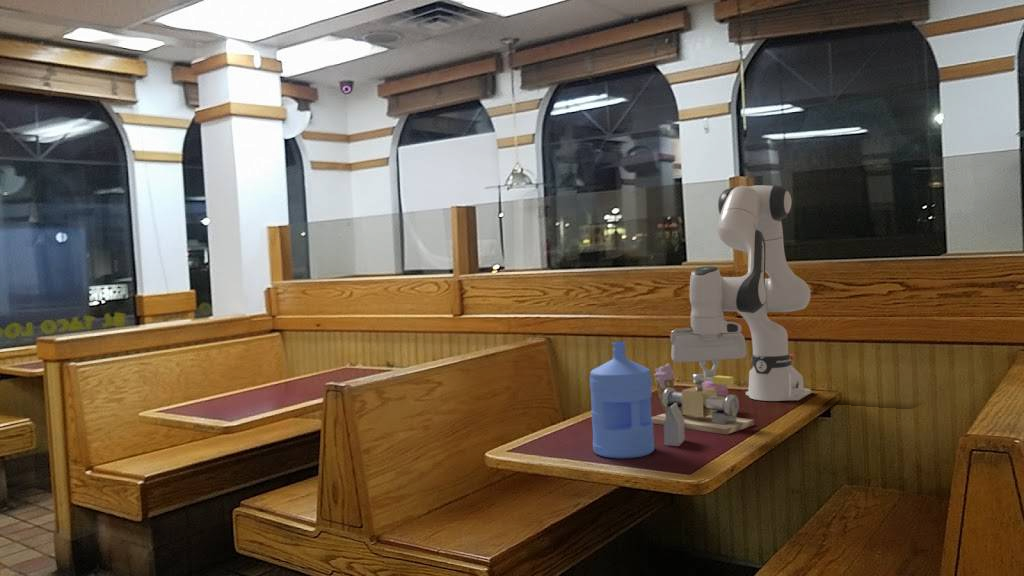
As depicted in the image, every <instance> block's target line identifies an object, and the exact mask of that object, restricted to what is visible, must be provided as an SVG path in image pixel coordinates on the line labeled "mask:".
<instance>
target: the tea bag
mask: <svg viewBox="0 0 1024 576" xmlns="http://www.w3.org/2000/svg"><path fill="white" fill-rule="evenodd" d="M663 434H664V435H663V438H664V446H666V447H667V446H671V447H679V446H681V444H683V442H684V441H685V440H686V437H685V436H686V435H685V428H684V417H683V416H682V414H681V412H680V410H679V408H678V406H677V403H674V404H673V405H672V406H671V407H669V411H668V414H667V417H666V419H665V421H664V425H663Z"/></svg>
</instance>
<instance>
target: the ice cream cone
mask: <svg viewBox="0 0 1024 576" xmlns="http://www.w3.org/2000/svg"><path fill="white" fill-rule="evenodd" d="M654 371H655V373H654V374H653V377H654V381H655V386H656V390H657V393H658V396H659V400H660V404H661V406H662V410H663V412H665V406H664V405H663V402H662V395H663V392H664V390H665V389H666V388H674V384H675V378H674V375H675V374H674V373H675V371H674V370H673V369H672V367H671V364H670V363H668V362H667V364H665V365H664V366H660V367H656V368H655V369H654Z"/></svg>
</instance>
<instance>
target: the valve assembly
mask: <svg viewBox="0 0 1024 576" xmlns="http://www.w3.org/2000/svg"><path fill="white" fill-rule="evenodd" d="M694 385H695V386H692V387H689V388H684V389H682V390H681V392H680V391H677V389H676V388H674V387H673V388H666V389H665V390H664V392H663V395H662V402H663V405H664V406H665V411H664V413H661V414H658V415H654V416H651V419H652V423H653V425H654V424H655V425H660V426H661V425H662V426H664V421H665V419H666V417H667V414H668V411H669V407H671V406H672V405H673V404H674V403H677V406H678V408H679V410H680V412H681V414H682V416H683V417H684V429H686V430H687V429H688V430H694V431H699V432H700V431H701V432H706V433H707V432H708V433H714V434H720V435H726V436H727V435H729V434H732V433H734V432H739V431H741V430H744V429H747V428H749V427H752V426H754V424H755V423H754V420H755V419H750V418H742V417H737V414H738V413H739V409H740V401H739V398H738V396H737V395H736V394H729V393H728V395H727V396H726V397H717V389H714V388H705V387H703V385H702V382H699V383H698V382H694Z"/></svg>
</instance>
